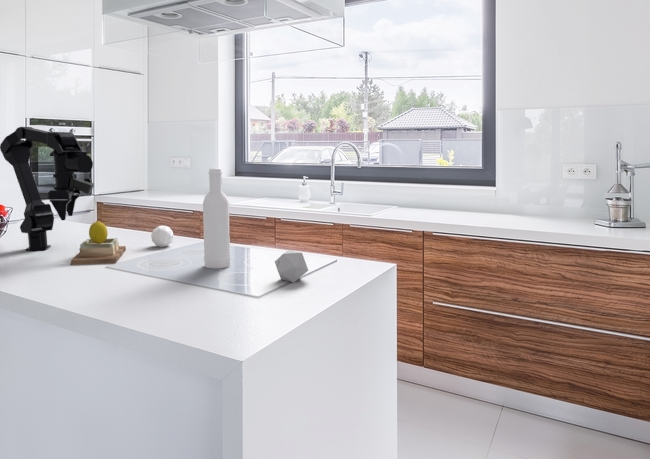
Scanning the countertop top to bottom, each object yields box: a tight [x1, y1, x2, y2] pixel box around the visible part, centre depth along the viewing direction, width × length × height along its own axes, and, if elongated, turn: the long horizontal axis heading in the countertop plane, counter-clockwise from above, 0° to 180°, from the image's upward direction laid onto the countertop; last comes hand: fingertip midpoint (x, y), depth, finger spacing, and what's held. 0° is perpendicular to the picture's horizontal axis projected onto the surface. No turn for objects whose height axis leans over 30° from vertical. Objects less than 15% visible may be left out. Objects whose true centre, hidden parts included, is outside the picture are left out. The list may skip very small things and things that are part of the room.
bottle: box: [202, 167, 231, 270], centre depth 158 cm, size 8×8×30 cm
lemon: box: [88, 220, 109, 244], centre depth 170 cm, size 6×6×8 cm
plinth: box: [70, 237, 127, 266], centre depth 171 cm, size 20×13×5 cm, turn 12°
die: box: [274, 249, 309, 283], centre depth 145 cm, size 8×9×10 cm
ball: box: [150, 225, 174, 248], centre depth 189 cm, size 8×8×8 cm
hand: (67, 217), depth 173 cm, fingers open, 9 cm apart
